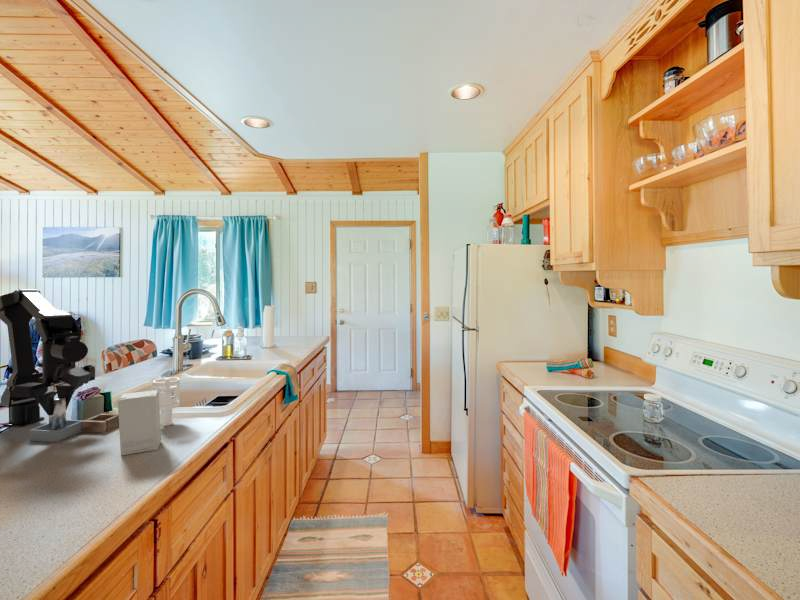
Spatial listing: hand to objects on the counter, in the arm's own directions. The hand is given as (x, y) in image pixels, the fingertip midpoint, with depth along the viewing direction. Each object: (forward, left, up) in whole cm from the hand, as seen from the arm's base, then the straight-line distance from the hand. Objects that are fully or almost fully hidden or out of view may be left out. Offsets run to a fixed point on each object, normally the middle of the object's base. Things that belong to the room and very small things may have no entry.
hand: (57, 412), depth 102 cm
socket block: (+7, +6, -6) cm, 12 cm away
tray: (0, 0, -6) cm, 7 cm away
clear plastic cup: (+24, +11, -7) cm, 27 cm away
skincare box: (+29, -6, -7) cm, 30 cm away
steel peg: (0, 0, -4) cm, 4 cm away
